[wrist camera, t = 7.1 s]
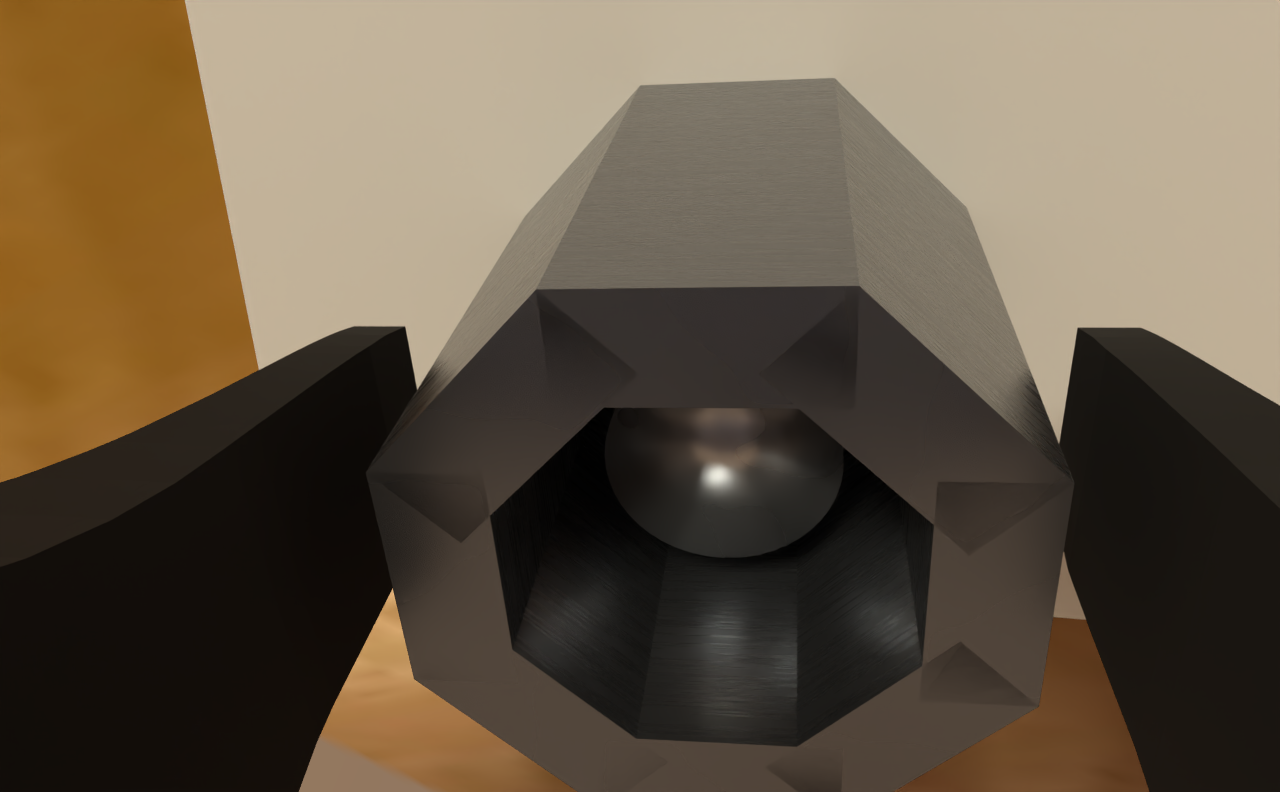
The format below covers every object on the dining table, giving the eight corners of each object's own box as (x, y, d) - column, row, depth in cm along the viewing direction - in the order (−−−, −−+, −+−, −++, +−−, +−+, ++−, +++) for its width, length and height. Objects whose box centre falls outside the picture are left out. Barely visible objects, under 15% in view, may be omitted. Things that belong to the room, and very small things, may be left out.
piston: (841, 215, 13) (855, 366, 10) (824, 382, 15) (832, 567, 11) (651, 206, 14) (602, 350, 10) (650, 370, 15) (605, 548, 11)
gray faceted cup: (978, 72, 12) (1106, 283, 7) (944, 474, 15) (1018, 834, 10) (508, 90, 13) (323, 292, 8) (556, 469, 16) (442, 798, 11)
